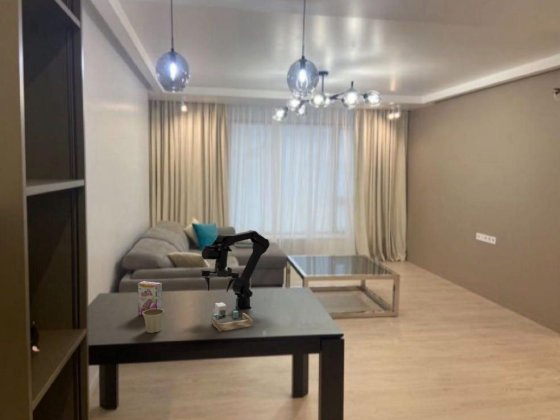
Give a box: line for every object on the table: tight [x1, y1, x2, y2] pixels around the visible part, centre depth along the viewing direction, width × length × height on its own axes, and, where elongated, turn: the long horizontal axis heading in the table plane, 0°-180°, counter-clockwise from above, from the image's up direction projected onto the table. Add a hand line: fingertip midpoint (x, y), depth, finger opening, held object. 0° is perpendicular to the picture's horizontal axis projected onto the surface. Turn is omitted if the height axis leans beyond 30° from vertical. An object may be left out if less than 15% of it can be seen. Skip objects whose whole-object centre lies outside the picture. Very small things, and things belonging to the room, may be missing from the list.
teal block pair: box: [212, 310, 239, 320], centre depth 208 cm, size 12×2×3 cm, turn 116°
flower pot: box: [142, 308, 165, 334], centre depth 192 cm, size 9×9×9 cm
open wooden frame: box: [211, 312, 253, 332], centre depth 200 cm, size 16×10×3 cm, turn 116°
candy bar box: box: [137, 280, 163, 317], centre depth 213 cm, size 11×5×16 cm, turn 71°
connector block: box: [214, 302, 227, 317], centre depth 215 cm, size 4×7×5 cm, turn 26°
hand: (217, 291), depth 214 cm, fingers open, 9 cm apart
